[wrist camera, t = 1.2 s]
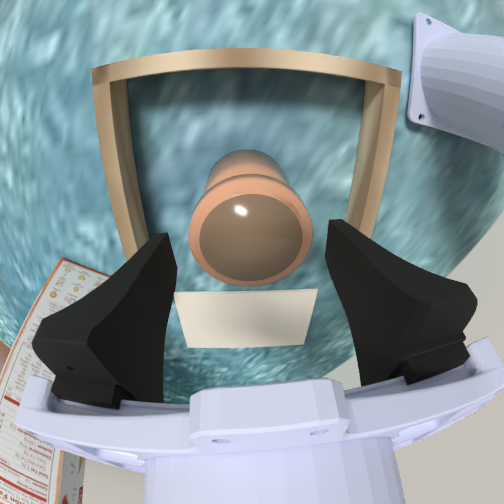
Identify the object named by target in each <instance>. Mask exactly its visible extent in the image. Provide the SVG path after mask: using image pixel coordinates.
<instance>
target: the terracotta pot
mask: <svg viewBox="0 0 504 504" xmlns="http://www.w3.org/2000/svg"><path fill="white" fill-rule="evenodd" d="M312 237H313V229H312V223H311V219H310V217H309V214H308V212H307V210H306V208H305V205H304V203H303V202H302V200H301V198H300V197H299V195H298V194H297V193H296V192H295V191H294V190H293V189H292V188H291V187H290V186H289V184H288V182H287V180H286V177H285V175H284V173H283V171H282V169H281V167H280V166H279V164H278V163H277V162H276V161H275V160H274V159H273V158H272V157H270V156H269V155H267V154H265V153H263V152H260V151H256V150H238V151H234V152H231V153H229V154H227V155H225V156H224V157H222V158H221V159H220V160H219V161H217V162H216V164H215V165H214V166H213V168H212V169H211V171H210V173H209V176H208V179H207V184H206V188H205V192H204V195H203V196H202V197H201V198H200V200H199V201H198V203H197V205H196V207H195V209H194V212H193V216H192V219H191V223H190V227H189V245H190V249H191V252H192V254H193V256H194V258H195V260H196V261H197V263H198V264H199V265H200V267H201V268H202V269H203V270H204V271H206V272H207V273H208V274H209V275H211V276H213V277H214V278H216V279H218V280H220V281H222V282H225V283H228V284H232V285H237V286H260V285H266V284H269V283H273V282H275V281H278V280H280V279H282V278H284V277H286V276H287V275H289V274H290V273H292V272H293V271H294V270H295V269H296V268H297V267H298V266H299V265H300V264H301V263H302V262H303V260H304V259H305V257H306V256H307V254H308V252H309V249H310V247H311V243H312Z"/></svg>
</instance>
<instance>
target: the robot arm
mask: <svg viewBox="0 0 504 504" xmlns="http://www.w3.org/2000/svg"><path fill="white" fill-rule="evenodd" d="M426 20H427V21H428V24H427V23H426ZM420 114H421V119H420V120H419V115H420ZM407 117H408V119H409V120H410V121H411V122H414V123H417V124H421V125H425V126H428V127H432V128H436V129H439V130H442V131H446V132H449V133H452V134H455V135H458V136H461V137H464V138H467V139H470V140H473V141H475V142H478V143H481V144H483V145H486V146H489V147H491V148H492V149H494V150H496V151H498V152H499V153H501V154H503V155H504V37H500V36H492V35H481V34H467V33H460V32H459V31H457V30H455V29H453V28H451V27H450V26H448V25H446V24H444V23H442V22H440V21H438V20H436V19H434V18H432V17H430V16H428V15H425V14H423V13H415V14H414V35H413V59H412V73H411V84H410V94H409V102H408V110H407ZM325 259H326V262H327V266H328V270H329V273H330V276H331V279H332V281H333V283H334V286H335V288H336V291H337V293H338V295H339V298H340V300H341V303H342V305H343V308H344V310H345V313H346V315H347V318H348V322H349V326H350V329H351V333H352V337H353V342H354V346H355V351H356V356H357V361H358V367H359V373H360V381H361V387H358V388H354V389H349V390H344V391H343V387H342V384H341V383H340V382H338V381H335V380H332V379H329V378H309V379H302V380H294V381H286V382H277V383H266V384H254V385H239V386H220V387H213V388H206V389H203V390H201V391H199V392H197V393H195V394H193V395H192V396H190V404H166V403H164V400H163V360H164V344H165V334H166V327H167V322H168V318H169V313H170V309H171V305H172V300H173V296H174V292H175V287H176V278H177V265H176V261H175V258H174V254H173V250H172V247H171V243H170V239H169V235H168V233H159V234H154V235H153V236H152V237H151V238H150V239H149V240H148V241H147V242H146V243H145V244H144V245H143V246H142V247H141V248H140V249H139V250H138V251H137V252H136V253H135V254H134V255H133V256H132V257H131V258H130V259H129V260H128V261H127V262H126V263H125V264H124V265H123V266H122V267H121V268H119V269H118V270H117V271H116V272H115V273H114V274H113V275H112V276H111V277H109V278H108V279H107V280H106V281H104V282H103V283H102V284H101V285H99V286H98V287H97V288H95V289H94V290H92V291H91V292H89V293H88V294H87V295H85V296H84V297H82V298H81V299H79V300H77V301H76V302H74V303H72V304H71V305H69V306H67V307H65V308H64V309H62V310H60V311H58V312H56V313H53V314H51V315H49V316H47V317H45V318H43V319H42V321H41V323H40V325H39V327H38V329H37V331H36V334H35V336H34V338H33V340H32V348H33V350H34V352H35V354H36V355H37V357H38V358H39V359H40V360H41V361H42V362H43V363H44V364H45V365H46V366H47V367H48V368H49V369H50V370H51V372H52V373H53V374H54V375H56V376H55V379H54V382H53V381H51V380H49V379H47V378H43V377H39V376H35V375H29V378H28V381H27V384H26V387H25V390H24V393H23V396H22V399H21V402H20V406H19V409H18V413H17V416H16V420H15V424H16V425H17V426H19V427H20V428H22V429H23V430H25V431H26V432H28V433H29V434H31V435H33V436H34V437H36V438H38V439H39V440H41V441H43V442H45V443H46V444H48V445H50V446H52V447H55V448H57V449H60V450H63V451H66V452H69V453H72V454H74V455H77V456H81V457H84V458H87V459H90V460H93V461H97V462H100V463H104V464H107V465H111V466H114V467H119V468H123V469H127V470H131V471H136V472H141V473H145V488H144V504H405V499H404V494H403V489H402V484H401V479H400V475H399V471H398V466H397V462H396V458H395V454H394V451H396V450H398V449H401V448H403V447H406V446H408V445H411V444H413V443H415V442H418V441H420V440H422V439H424V438H426V437H428V436H430V435H433V434H435V433H437V432H439V431H441V430H443V429H445V428H447V427H448V426H450V425H452V424H454V423H456V422H458V421H460V420H462V419H463V418H465V417H467V416H469V415H470V414H472V413H474V412H476V411H477V410H479V409H480V408H482V407H483V406H484V405H485V404H486V403H488V402H489V401H490V400H491V399H493V398H494V397H495V396H496V395H497V394H498V393H499V392H501V391H502V390H503V389H504V365H503V363H502V362H501V360H500V358H499V356H498V354H497V352H496V350H495V348H494V347H493V345H492V343H491V341H490V339H489V337H485V338H482V339H480V340H478V341H475V342H473V343H471V344H470V345H468V346H467V347H466V346H465V345H464V343H463V341H465V339H466V336H465V335H464V333H463V330H464V329H465V327H466V326H467V324H468V323H469V321H470V320H471V318H472V316H473V315H474V313H475V311H476V307H477V298H476V296H475V295H474V294H473V292H472V291H471V289H470V288H469V286H468V285H467V284H465V283H462V282H458V281H455V280H451V279H447V278H445V277H442V276H439V275H436V274H433V273H431V272H429V271H426V270H424V269H422V268H419V267H417V266H415V265H413V264H411V263H409V262H407V261H405V260H403V259H401V258H400V257H398V256H396V255H394V254H393V253H391V252H389V251H388V250H386V249H385V248H383V247H381V246H380V245H378V244H377V243H375V242H374V241H373V240H371V239H370V238H368V237H367V236H365V235H364V234H363V233H361V232H360V231H359V230H357V229H356V228H354V227H353V226H352V225H350V224H349V223H347V222H346V221H344V220H342V219H335V220H329V225H328V234H327V243H326V251H325Z"/></svg>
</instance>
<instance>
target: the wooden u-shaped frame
mask: <svg viewBox="0 0 504 504" xmlns="http://www.w3.org/2000/svg"><path fill="white" fill-rule="evenodd" d="M228 68H257V69H280V70H294V71H305V72H314V73H322V74H329V75H336V76H342V77H348V78H353V79H359V80H364V81H365V93H364V103H363V112H362V120H361V128H360V136H359V143H358V150H357V156H356V163H355V169H354V175H353V180H352V186H351V191H350V197H349V202H348V207H347V212H346V217H345V221H346V222H347V223H349V224H350V225H352V226H353V227H354V228H356V229H357V230H359V231H360V232H361V233H363V234H364V235H365V236H367V237H368V238H370V239H371V235H372V232H373V228H374V225H375V221H376V217H377V213H378V209H379V205H380V201H381V197H382V193H383V189H384V184H385V180H386V175H387V170H388V166H389V160H390V155H391V150H392V144H393V138H394V132H395V126H396V119H397V112H398V104H399V96H400V87H401V76H402V71H398V70H395V69H392V68H388V67H384V66H380V65H377V64H373V63H368V62H364V61H359V60H355V59H350V58H345V57H339V56H333V55H327V54H320V53H313V52H305V51H295V50H283V49H267V48H217V49H200V50H188V51H179V52H170V53H163V54H156V55H150V56H144V57H139V58H134V59H129V60H124V61H120V62H116V63H111V64H107V65H104V66H100V67H96V68H93V69H92V81H93V94H94V105H95V114H96V123H97V130H98V137H99V144H100V150H101V156H102V162H103V167H104V172H105V177H106V182H107V187H108V192H109V196H110V201H111V205H112V209H113V213H114V217H115V221H116V225H117V229H118V232H119V236H120V240H121V243H122V247H123V250H124V254H125V257H126V260H127V261H128V260H129V259H130V258H131V257H132V256H133V255H134V254H135V253H136V252H137V251H138V250H139V249H140V248H141V247H142V246H143V245H144V244H145V243H146V242H147V241H148V240H149V236H148V231H147V226H146V222H145V217H144V212H143V206H142V201H141V196H140V190H139V184H138V178H137V172H136V165H135V158H134V151H133V143H132V135H131V126H130V116H129V105H128V91H127V79H132V78H137V77H143V76H149V75H156V74H163V73H171V72H180V71H191V70H205V69H228Z"/></svg>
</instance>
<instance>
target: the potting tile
mask: <svg viewBox="0 0 504 504" xmlns="http://www.w3.org/2000/svg"><path fill="white" fill-rule="evenodd" d="M317 292H318V289H317V288H315V289H293V290H265V291H217V292H174V298H175V302H176V306H177V310H178V314H179V318H180V322H181V325H182V329H183V333H184V336H185V340H186V343H187V347H188V348H245V347H271V346H288V345H302V344H304V342H305V338H306V335H307V331H308V327H309V324H310V320H311V316H312V312H313V308H314V304H315V300H316V296H317Z"/></svg>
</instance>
